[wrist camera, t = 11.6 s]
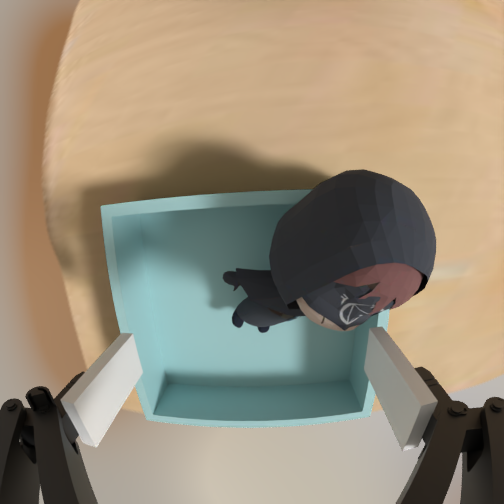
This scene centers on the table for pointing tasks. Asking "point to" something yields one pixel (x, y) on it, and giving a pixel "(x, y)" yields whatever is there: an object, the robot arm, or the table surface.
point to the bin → (224, 318)
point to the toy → (341, 255)
